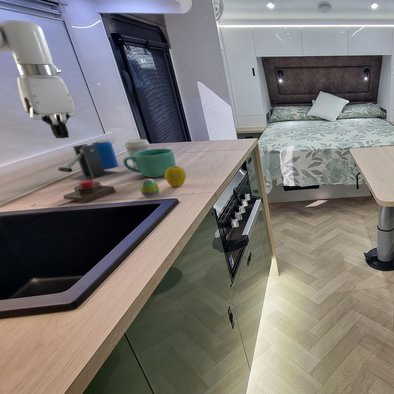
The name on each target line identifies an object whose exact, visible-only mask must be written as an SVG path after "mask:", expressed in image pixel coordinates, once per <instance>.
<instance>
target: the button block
mask: <svg viewBox="0 0 394 394" xmlns="http://www.w3.org/2000/svg"><path fill="white" fill-rule="evenodd" d="M94 184H95V185H94V186H91V187H86V188H80V186H79V184H77V185H76V186H74V187H73V190H74V191H72V192H69V193H66V194H63V195H62V196H63V199H64V200H70V201H68V203H74V204H75V203H76V204H84V205H85V204H88V203H90V202H93V201H96V200H98V199H101V198H104V197H108V196H110V195H112V194H115V193H116V192H117V191H116V189H115V186H112V185H103V184H102V183H101V182H99V181H94Z"/></svg>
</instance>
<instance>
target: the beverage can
mask: <svg viewBox="0 0 394 394" xmlns="http://www.w3.org/2000/svg"><path fill="white" fill-rule="evenodd" d="M91 145H96V148H97V151H98V154H99V157H100V160H101V163H102V166H103V169H104V170H108V169H113V168H118V167H119V163H118V159H117V156H116V153H115V150H114V146H113V144H112V142H111V141H110V140H109V139H101V140H93V141H92V142H91Z"/></svg>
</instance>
